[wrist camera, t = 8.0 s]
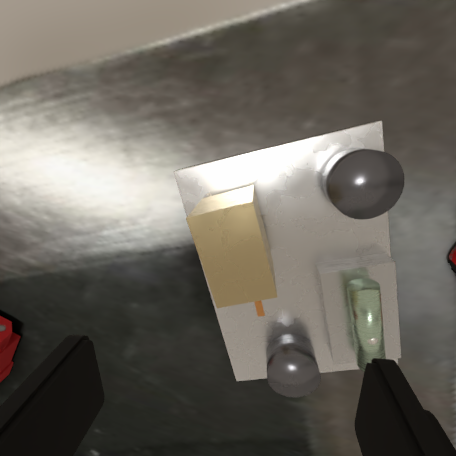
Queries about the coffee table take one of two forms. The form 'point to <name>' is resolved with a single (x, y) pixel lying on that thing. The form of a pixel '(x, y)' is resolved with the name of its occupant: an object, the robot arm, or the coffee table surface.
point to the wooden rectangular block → (233, 247)
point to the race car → (453, 259)
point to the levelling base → (313, 256)
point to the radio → (7, 347)
